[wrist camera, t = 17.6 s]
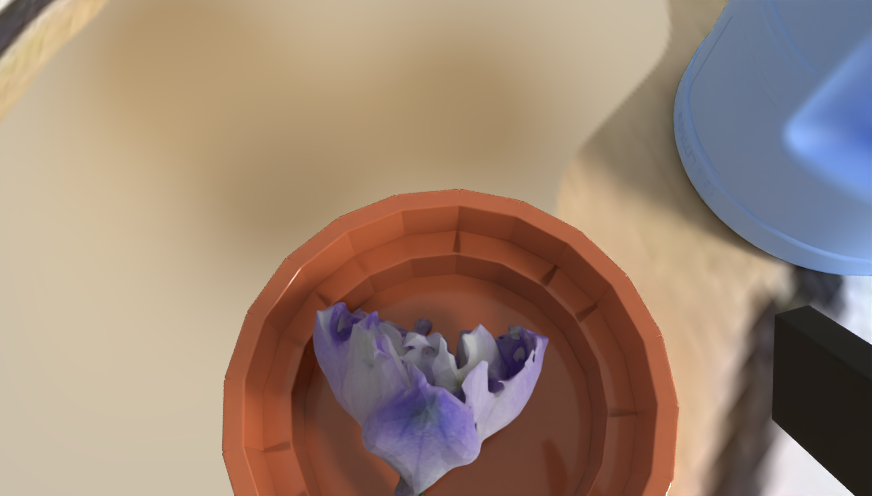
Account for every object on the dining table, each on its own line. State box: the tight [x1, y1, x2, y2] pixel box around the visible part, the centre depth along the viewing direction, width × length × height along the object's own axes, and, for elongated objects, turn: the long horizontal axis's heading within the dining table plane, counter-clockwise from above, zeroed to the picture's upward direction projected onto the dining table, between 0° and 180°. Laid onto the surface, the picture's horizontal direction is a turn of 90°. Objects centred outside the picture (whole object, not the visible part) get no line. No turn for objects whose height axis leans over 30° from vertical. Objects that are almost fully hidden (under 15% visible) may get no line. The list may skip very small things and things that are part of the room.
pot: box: [222, 189, 679, 496], centre depth 26 cm, size 17×17×6 cm
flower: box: [313, 302, 549, 496], centre depth 25 cm, size 9×9×10 cm
